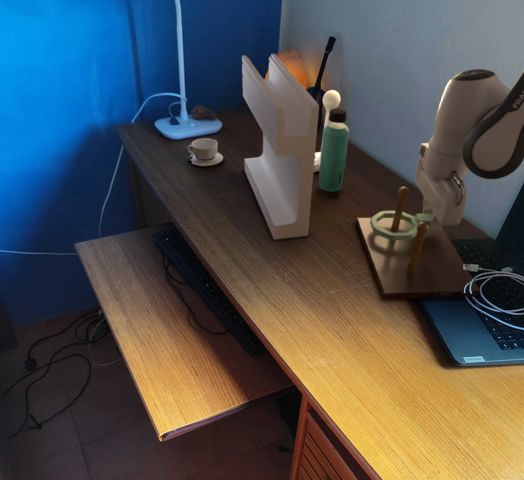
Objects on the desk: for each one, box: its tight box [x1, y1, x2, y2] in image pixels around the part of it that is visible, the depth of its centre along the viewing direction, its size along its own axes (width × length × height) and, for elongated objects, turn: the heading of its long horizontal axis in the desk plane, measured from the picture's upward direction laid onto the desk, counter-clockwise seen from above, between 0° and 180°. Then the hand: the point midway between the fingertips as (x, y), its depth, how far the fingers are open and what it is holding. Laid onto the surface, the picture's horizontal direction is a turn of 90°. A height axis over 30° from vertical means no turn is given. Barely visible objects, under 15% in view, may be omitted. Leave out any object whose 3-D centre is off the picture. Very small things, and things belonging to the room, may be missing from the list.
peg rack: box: [356, 186, 481, 300], centre depth 97 cm, size 19×28×13 cm
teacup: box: [187, 137, 224, 167], centre depth 132 cm, size 10×10×5 cm
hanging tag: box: [370, 210, 443, 240], centre depth 103 cm, size 15×10×2 cm
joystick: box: [313, 89, 341, 173], centre depth 123 cm, size 11×8×20 cm
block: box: [241, 53, 320, 240], centre depth 108 cm, size 35×8×28 cm, turn 13°
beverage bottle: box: [317, 107, 350, 193], centre depth 114 cm, size 6×7×20 cm
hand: (429, 222), depth 103 cm, fingers closed on hanging tag, 3 cm apart
